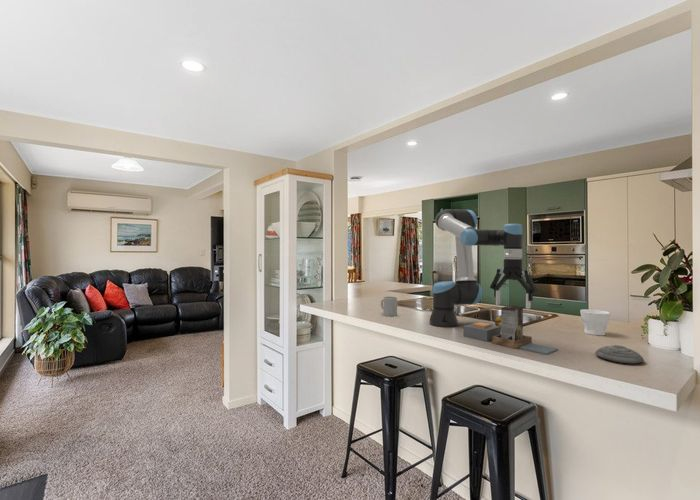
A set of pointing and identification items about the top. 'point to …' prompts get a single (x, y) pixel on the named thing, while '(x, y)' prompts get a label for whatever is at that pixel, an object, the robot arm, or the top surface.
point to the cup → (595, 321)
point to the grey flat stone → (619, 354)
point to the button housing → (481, 332)
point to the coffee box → (512, 323)
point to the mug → (389, 306)
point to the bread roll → (498, 321)
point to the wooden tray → (511, 341)
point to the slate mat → (538, 348)
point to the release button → (482, 325)
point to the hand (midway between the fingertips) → (512, 306)
